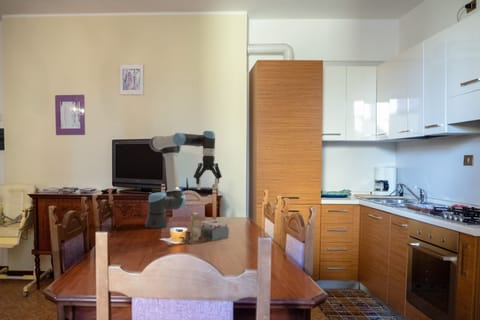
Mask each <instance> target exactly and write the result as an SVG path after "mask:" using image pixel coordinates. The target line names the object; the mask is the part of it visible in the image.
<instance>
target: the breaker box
mask: <svg viewBox="0 0 480 320" xmlns="http://www.w3.org/2000/svg"><path fill="white" fill-rule="evenodd" d="M200 223H201V226H200V234H199V237H202V238H205V239H206V240H209V241H212V242H214V241H218V240H225V239H229V236H230V235H229V232H230V230H229V227H228V225H229V223H230V222H228V221H224V220H220V219H217V218H216V219H209V220H202V221H200ZM215 225H218V228H214V226H215Z"/></svg>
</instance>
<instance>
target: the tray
mask: <svg viewBox="0 0 480 320" xmlns="http://www.w3.org/2000/svg"><path fill="white" fill-rule="evenodd" d="M182 242H185V243H187V244H190V245H196V244H202V243H203V244H204V243H206V242H207V239H206V238H203V237H200V236H199V240H195V241H191V240H190V237H185V238H182Z"/></svg>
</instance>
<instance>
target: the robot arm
mask: <svg viewBox="0 0 480 320" xmlns="http://www.w3.org/2000/svg"><path fill="white" fill-rule="evenodd" d="M215 143H216V132H215V131H213V130H204V131H203V132H202V134H193V133H182V132H175V133H174V134H172V135H167V136H166V135H165V136H162V135H156V136H152V137H151V138H150V139H149V147H150V149H151V150H153V151H154V152H158V153H162V156H163V157H164V161H165V163H164V164H165V173H166V175H165V176H166V186H167V187H166V188H167V189H166V191H162V192H161V191H160V192H159V191H158V192H152V193H150V194H149V195H148V201H147V202H148V204H147V205H148V207H147V208H148V211H147V218H146V221H145V222H144V225H145V226H144V227H145V228H147V229H165V228H167V227H168V226H169V225H168V219H167V216H166V212H167V211H172V210H173V211H174V210H175V211H176V210H181V209H183V208H184V207H185V204H186V201H187V197H186V195H185V193H183V191H182V189H181V188H180V181H179V180H180V179H179V168H178V156H179V153H180V152H181V150H182V146H187V147H198V148H199V147H202V162H198V164H197V168H196V171H195V172H194V175H193V178H194V179H195V180H196V181H195V184H196V190H201V189H202V188H201V187H202V186H201V184H202V183H201V182H202V181H201V178H202V176H203V174H204V173H205V172H206V171H211V173H212V174H213V175H214V177H215V178H214V190H219V183H220V179H221V178H222V173H221V171H220V168H219V163H217V162H215V154H216V152H215V148H216V144H215Z"/></svg>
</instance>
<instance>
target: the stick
mask: <svg viewBox="0 0 480 320" xmlns="http://www.w3.org/2000/svg"><path fill="white" fill-rule="evenodd" d="M189 231H190V240H191V241H195V240H199V237H200V232H199V231H200V213H199V212H191V213H190V230H189Z"/></svg>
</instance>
